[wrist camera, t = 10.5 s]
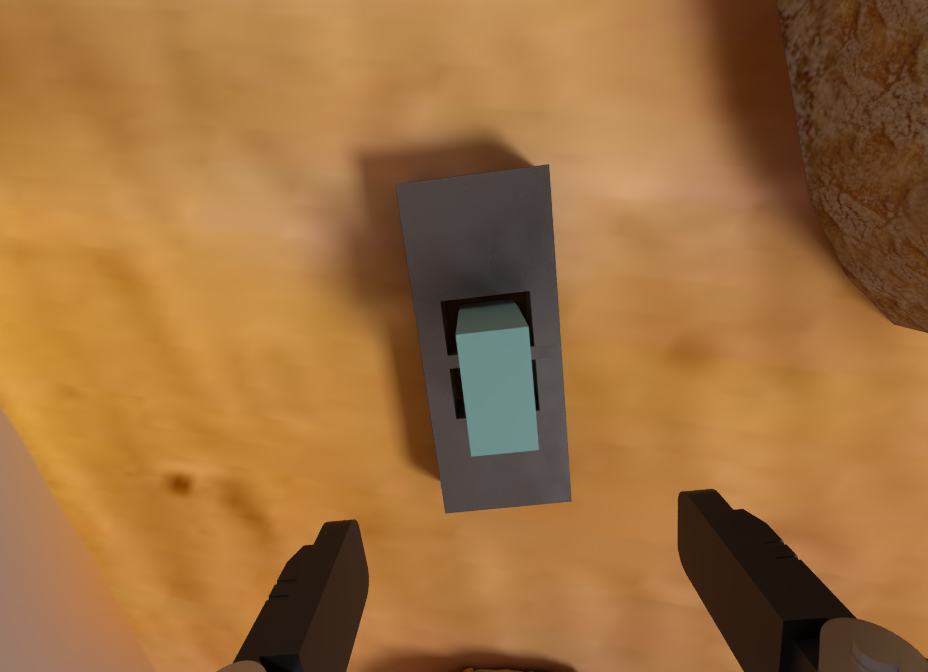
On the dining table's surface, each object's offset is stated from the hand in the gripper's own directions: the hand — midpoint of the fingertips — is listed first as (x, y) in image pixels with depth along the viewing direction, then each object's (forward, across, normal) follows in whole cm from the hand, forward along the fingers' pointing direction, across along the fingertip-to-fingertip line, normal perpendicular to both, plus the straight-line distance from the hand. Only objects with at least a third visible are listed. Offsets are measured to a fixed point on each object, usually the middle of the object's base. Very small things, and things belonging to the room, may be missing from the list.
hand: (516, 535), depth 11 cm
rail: (+18, 0, 0) cm, 18 cm away
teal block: (+17, 0, 0) cm, 17 cm away
